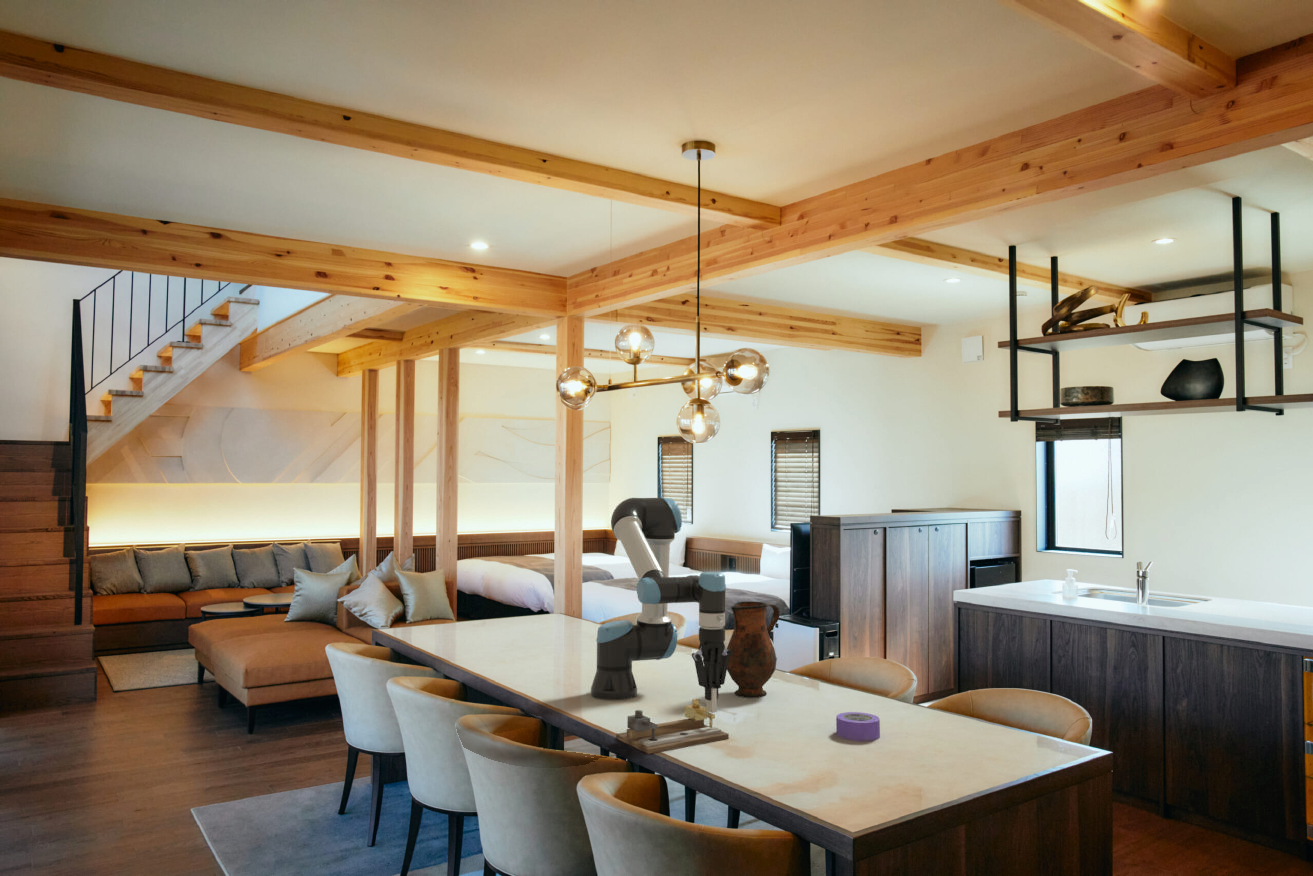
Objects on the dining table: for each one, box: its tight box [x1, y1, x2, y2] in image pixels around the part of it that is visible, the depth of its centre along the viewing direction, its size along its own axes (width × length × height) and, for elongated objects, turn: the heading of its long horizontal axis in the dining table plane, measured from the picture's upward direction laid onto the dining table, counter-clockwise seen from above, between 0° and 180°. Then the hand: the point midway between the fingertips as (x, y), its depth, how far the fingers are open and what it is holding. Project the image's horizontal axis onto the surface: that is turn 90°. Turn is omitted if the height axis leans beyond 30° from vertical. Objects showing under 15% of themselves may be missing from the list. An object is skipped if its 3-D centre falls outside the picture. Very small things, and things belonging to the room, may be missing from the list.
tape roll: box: [835, 711, 881, 742], centre depth 236 cm, size 12×12×5 cm
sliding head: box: [684, 698, 716, 728], centre depth 236 cm, size 10×4×6 cm, turn 34°
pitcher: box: [726, 601, 780, 699], centre depth 283 cm, size 17×21×30 cm
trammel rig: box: [615, 709, 729, 755], centre depth 230 cm, size 16×26×8 cm, turn 124°
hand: (711, 711), depth 241 cm, fingers closed
